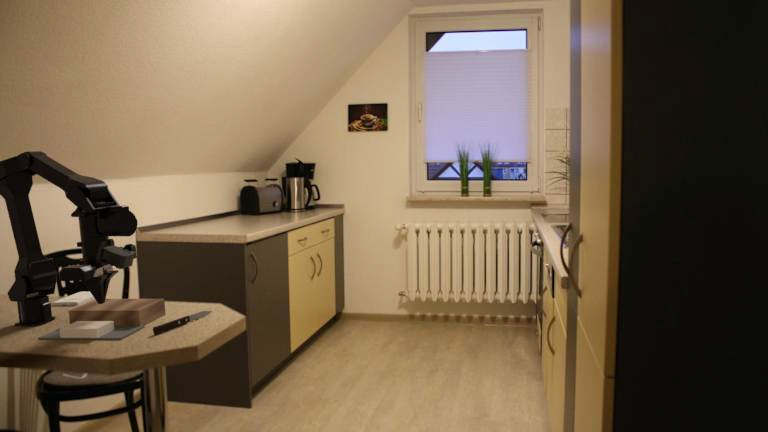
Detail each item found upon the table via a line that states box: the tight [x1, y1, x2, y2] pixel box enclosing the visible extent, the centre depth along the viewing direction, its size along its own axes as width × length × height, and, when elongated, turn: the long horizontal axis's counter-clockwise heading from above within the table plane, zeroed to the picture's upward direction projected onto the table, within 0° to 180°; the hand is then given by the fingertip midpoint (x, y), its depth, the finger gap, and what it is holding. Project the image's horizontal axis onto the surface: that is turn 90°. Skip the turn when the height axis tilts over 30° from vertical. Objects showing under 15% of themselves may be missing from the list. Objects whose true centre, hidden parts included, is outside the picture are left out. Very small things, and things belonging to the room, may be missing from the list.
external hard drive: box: [50, 290, 95, 307], centre depth 173 cm, size 2×8×12 cm
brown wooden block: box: [68, 298, 166, 327], centre depth 148 cm, size 18×11×4 cm, turn 80°
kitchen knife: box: [152, 310, 213, 336], centre depth 142 cm, size 18×1×2 cm, turn 153°
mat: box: [38, 325, 145, 341], centre depth 138 cm, size 20×9×1 cm, turn 80°
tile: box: [58, 321, 114, 338], centre depth 137 cm, size 9×6×2 cm, turn 80°
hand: (101, 303), depth 142 cm, fingers closed
